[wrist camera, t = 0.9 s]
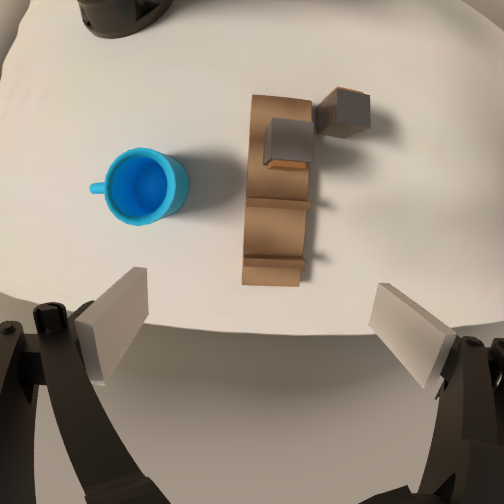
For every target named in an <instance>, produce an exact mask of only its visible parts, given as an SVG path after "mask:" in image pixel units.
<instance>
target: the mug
mask: <svg viewBox="0 0 504 504" xmlns="http://www.w3.org/2000/svg"><path fill="white" fill-rule="evenodd" d="M188 191H189V180H188V175H187V173H186V171H185V169H184V167H183V166H182V165H181V164H180V163H179V162H178V161H177V160H175V159H173V158H171V157H169V156H167V155H164V154H162V153H160V152H157V151H155V150H152V149H148V148H135V149H131V150H128V151H126V152H125V153H123V154H121V155H120V156H118V157H117V159H116V160H115V161H114V162H113V163H112V164H111V166H110V168H109V170H108V172H107V174H106V177H105V182H103V183H93V184H91V186H90V192H91V193H92V194H103V193H105V200H106V202H107V204H108V207H109V209H110V211H111V212H112V213H113V214H114V215H115V216H116V217H117V219H119V220H121V221H123V222H124V223H126V224H130V225H135V226H141V225H147V224H151V223H153V222H155V221H157V220H160V219H162V218H164V217H167V216H169V215H171V214H173V213H175V212H176V211H177V210H178V209H179V208H180V207H181V206H182V205H183V204H184V202H185V200H186V198H187V196H188Z"/></svg>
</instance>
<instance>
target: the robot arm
mask: <svg viewBox="0 0 504 504" xmlns="http://www.w3.org/2000/svg"><path fill="white" fill-rule="evenodd" d="M77 1H78V2H79V7H80V11H81V15H82V19H83V23H84V25H85V26H86V27H87V29H88V30H89V31H91V32H92V33H93V34H94V35H96V36H98V37H101V38H108V39H110V38H119V37H123V36H127V35H130V34H133V33H135V32H137V31H140V30H141V29H143V28H145V27H147V26H148V25H150V24H152V23H153V22H154V21H156V20H157V19H158V18H159V17H160V16H162V15H163V14H164V13H165V12H166V10H167V9H168V8H169V6H170V5H171V3H172V2H173V0H77ZM148 314H149V312H148V290H147V268H140V267H133V268H132V269H131V270H130V271H129V272H127V273H126V274H125V275H124V276H123V277H122V278H121V279H119V280H118V281H117V282H116V283H115V284H114V285H113V286H111V287H110V288H109V289H108V290H107V291H106V292H105V293H104V294H102V295H101V296H100V297H99V298H98V299H97V300H96V301H93V300H92V301H89V302H87V303H85V304H83V305H82V306H81V307H79V308H78V310H76V311H75V312H74V313H73V314H71V315H70V317H68V318H67V314H66V308H65V306H64V305H63V304H61V303H56V302H49V303H44V304H41V305H38V306H37V307H36V308H34V310H33V315H34V320H35V324H36V329H37V333H38V334H24V331H23V327H22V325H21V323H19V322H17V321H5V322H2V323H1V324H0V504H36V496H35V483H34V482H35V481H34V431H35V417H36V406H37V397H38V389H39V385H47V388H48V392H49V396H50V400H51V404H52V407H53V411H54V414H55V418H56V421H57V424H58V427H59V430H60V433H61V436H62V439H63V442H64V445H65V447H66V450H67V453H68V455H69V458H70V460H71V463H72V465H73V468H74V470H75V472H76V474H77V477H78V479H79V481H80V483H81V486H82V488H83V490H84V492H85V495H86V496H85V500H86V502H87V504H171V503H170V502H169V501H168V500H167V498H166V497H165V496H164V495H163V493H162V492H161V491H160V490H159V488H158V487H157V486H156V485H155V483H154V482H153V481H152V480H151V479H150V478H149V477H145V475H144V474H143V473H142V472H141V470H140V469H139V468H138V466H137V464H136V463H135V462H134V460H133V458H132V457H131V455H130V454H129V452H128V451H127V449H126V448H125V446H124V444H123V443H122V441H121V439H120V438H119V436H118V434H117V432H116V431H115V429H114V427H113V425H112V424H111V422H110V420H109V418H108V416H107V414H106V412H105V411H104V409H103V407H102V405H101V403H100V401H99V399H98V397H97V395H96V393H95V391H94V388H93V386H92V384H91V383H94V384H98V385H102V386H106V384H107V382H108V381H109V379H110V377H111V375H112V374H113V372H114V370H115V369H116V367H117V365H118V363H119V362H120V360H121V358H122V357H123V355H124V353H125V352H126V350H127V348H128V347H129V345H130V343H131V342H132V340H133V338H134V337H135V335H136V334H137V332H138V330H139V329H140V327H141V326H142V324H143V322H144V321H145V319H146V318H147V316H148ZM369 326H370V327H371V328H372V329H373V330H374V332H375V333H376V334H377V335H378V336H379V337H380V338H381V340H382V341H383V342H384V343H385V344H386V345H387V346H388V348H389V349H390V350H391V351H392V352H393V353H394V354H395V356H396V357H397V358H398V359H399V361H400V362H401V363H402V364H403V365H404V366H405V368H406V369H407V370H408V371H409V372H410V373H411V375H412V376H413V377H414V378H415V379H416V381H417V382H418V383H419V384H420V385H421V387H422V388H429V387H433V386H435V385H436V383H437V380H438V379H439V376H440V375H441V376H442V377H443V378H444V381H443V383H442V385H441V387H440V389H439V391H438V393H437V395H436V397H435V399H437V398H438V397H439V396H440V398H439V405H438V411H437V417H436V423H435V428H434V433H433V438H432V443H431V447H430V451H429V455H428V459H427V463H426V467H425V470H424V474H423V477H422V480H421V483H420V487H419V490H418V492H417V493H411V491H410V490H409V488H408V486H407V485H406V486H403V487H400V488H397V489H394V490H391V491H388V492H385V493H381V494H377V495H375V496H373V497H371V498H369V499H367V500H365V501H363V502H361V503H359V504H504V338H495V339H494V340H493V342H492V345H491V347H490V348H489V347H484V344H483V343H482V341H480V340H478V339H477V338H475V337H470V336H464V337H462V338H460V337H459V336H458V335H457V333H456V332H454V331H453V330H452V329H450V328H449V327H448V326H447V325H445V324H444V323H443V322H441V321H440V320H439V319H437V318H436V317H435V316H433V315H432V314H431V313H429V312H428V311H427V310H425V309H424V308H423V307H421V306H420V305H418V304H417V303H416V302H414V301H413V300H412V299H410V298H409V297H407V296H406V295H405V294H403V293H402V292H401V291H399V290H398V289H396V288H395V287H394V286H392V285H391V284H389V283H378V288H377V292H376V297H375V301H374V305H373V309H372V314H371V317H370V321H369ZM501 375H502V377H501ZM500 377H501V381H500V383H499V385H497V382H498V380H499V379H500Z"/></svg>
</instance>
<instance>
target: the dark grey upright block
mask: <svg viewBox="0 0 504 504" xmlns="http://www.w3.org/2000/svg"><path fill="white" fill-rule="evenodd" d="M369 128H370V95H367V94H363V92H360V91H355V90H351V89H346V88H341V87H336V88H335V89H334V90H333V91H332V92H331V93H330V94H329V95H328V96H327V97H326V98H325V100H323V101H322V102H321V103H320V104H319V105H318V106H317V134H319V135H326V136H333V137H339V138H347V137H349V136H352V135H354V134H357V133H359V132H362V131H364V130H367V129H369Z"/></svg>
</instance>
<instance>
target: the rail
mask: <svg viewBox="0 0 504 504" xmlns="http://www.w3.org/2000/svg"><path fill="white" fill-rule="evenodd" d="M311 109H312V101H310V100H302V99H295V98H286V97H276V96H265V95H252V104H251V120H250V137H249V154H248V171H247V189H246V208H245V227H244V246H243V267H242V285H256V286H290V287H299V285H300V275H301V269H305V266H306V260H305V259H304V258H303V257H302V255H303V245H304V234H305V221H306V210H309V211H310V210H311V202H308V201H307V195H308V179H309V163H312V160H313V138H314V122H311Z"/></svg>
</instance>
